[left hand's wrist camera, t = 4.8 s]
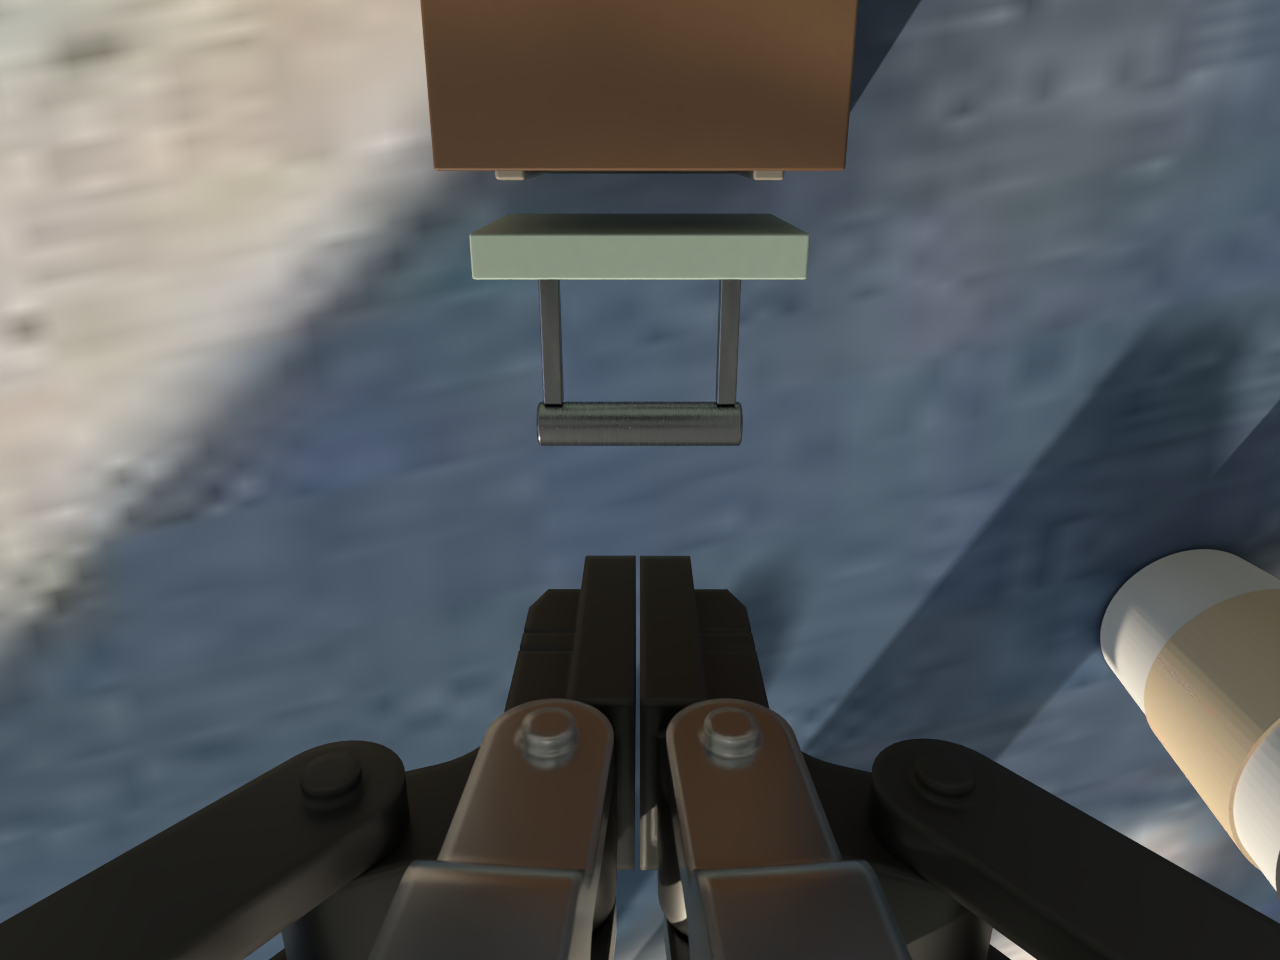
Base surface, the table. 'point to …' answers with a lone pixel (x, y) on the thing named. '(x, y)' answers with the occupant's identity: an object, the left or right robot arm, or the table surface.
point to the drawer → (639, 253)
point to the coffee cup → (1209, 683)
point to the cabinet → (639, 84)
